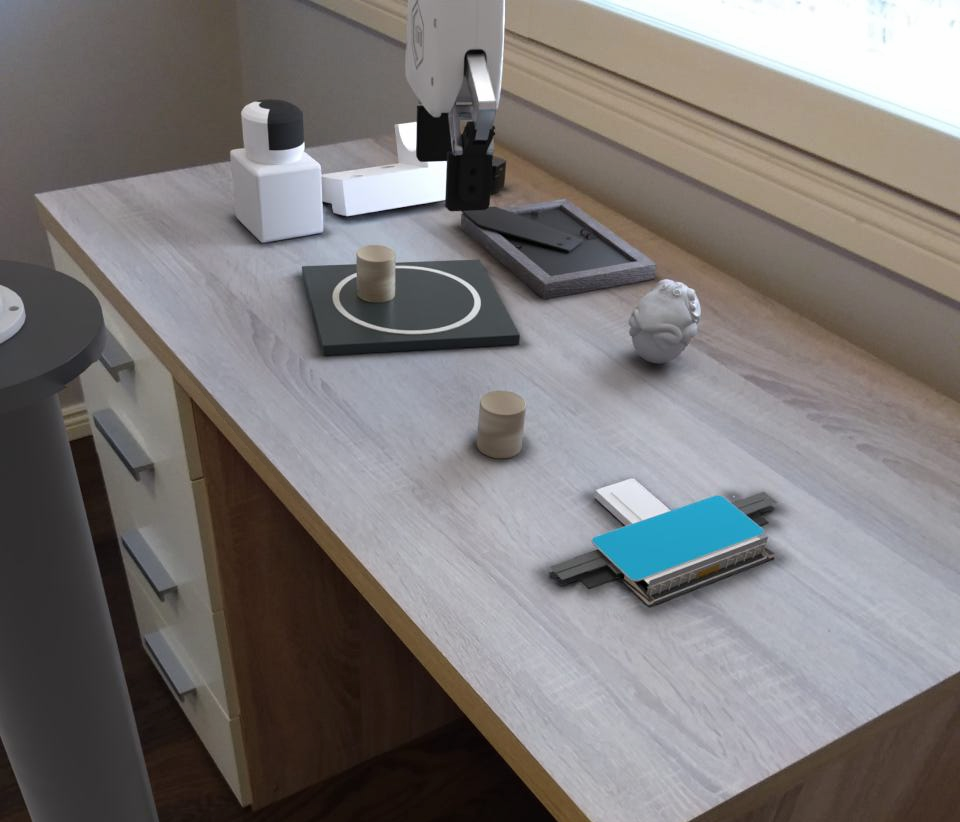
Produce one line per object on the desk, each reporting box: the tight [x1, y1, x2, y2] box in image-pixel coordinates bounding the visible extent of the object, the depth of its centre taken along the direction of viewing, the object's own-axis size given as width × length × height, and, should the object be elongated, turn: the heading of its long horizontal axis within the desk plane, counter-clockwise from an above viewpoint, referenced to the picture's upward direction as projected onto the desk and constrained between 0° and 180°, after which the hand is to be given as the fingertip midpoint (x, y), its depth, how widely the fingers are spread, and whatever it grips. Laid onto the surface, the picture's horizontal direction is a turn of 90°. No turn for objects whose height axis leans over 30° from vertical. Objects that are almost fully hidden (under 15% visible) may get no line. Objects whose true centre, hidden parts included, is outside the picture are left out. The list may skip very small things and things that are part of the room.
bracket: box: [321, 121, 447, 217], centre depth 116 cm, size 13×7×8 cm, turn 121°
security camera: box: [229, 98, 324, 244], centre depth 108 cm, size 7×7×12 cm
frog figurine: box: [628, 278, 702, 364], centre depth 94 cm, size 6×7×7 cm
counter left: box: [355, 244, 397, 303], centre depth 98 cm, size 4×4×4 cm
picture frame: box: [460, 198, 658, 300], centre depth 111 cm, size 13×2×18 cm
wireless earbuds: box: [490, 155, 507, 194], centre depth 123 cm, size 5×7×3 cm, turn 57°
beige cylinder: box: [476, 390, 527, 459], centre depth 83 cm, size 4×4×4 cm
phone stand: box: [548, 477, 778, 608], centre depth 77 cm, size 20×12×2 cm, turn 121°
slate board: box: [301, 258, 521, 356], centre depth 100 cm, size 18×16×1 cm
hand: (451, 183), depth 80 cm, fingers open, 9 cm apart
